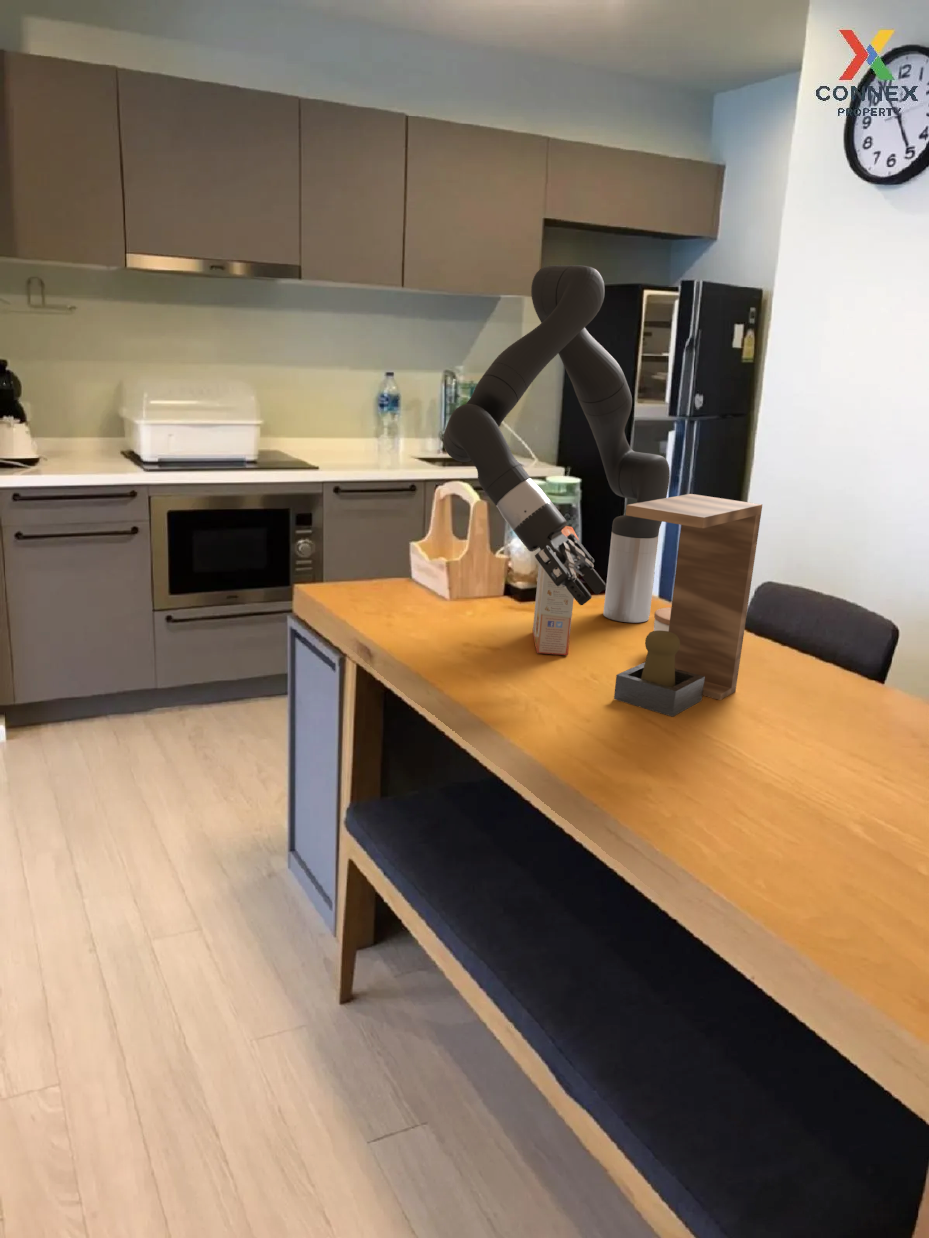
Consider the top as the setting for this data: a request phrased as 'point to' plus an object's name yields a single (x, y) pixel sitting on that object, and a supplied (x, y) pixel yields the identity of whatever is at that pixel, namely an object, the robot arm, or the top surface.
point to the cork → (661, 657)
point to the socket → (659, 691)
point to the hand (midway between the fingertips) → (594, 596)
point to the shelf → (709, 582)
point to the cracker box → (552, 612)
